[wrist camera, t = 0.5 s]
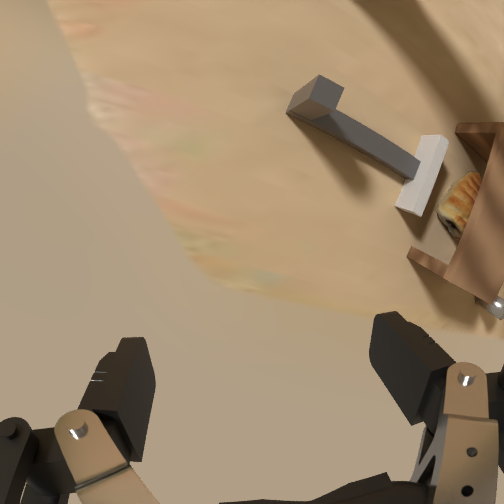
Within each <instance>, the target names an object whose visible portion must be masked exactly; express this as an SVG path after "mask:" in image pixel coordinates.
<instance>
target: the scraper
mask: <svg viewBox="0 0 504 504" xmlns="http://www.w3.org/2000/svg"><path fill="white" fill-rule="evenodd" d="M343 90H344V87H342V86H340V85H338V84H336V83H334V82H332V81H331V80H329V79H327V78H325V77H323V76H321V75H318V76H317V77H315V78H314V79H313V80H311V81H310V82H309V83H308V84H306V85H305V86H304V87H302V88H301V89H300V90H299V91H297V92H296V93H294V95H293V97H292V100H291V102H290V104H289V106H288V109H287V111H286V114H288V115H290V116H293V117H295V118H297V119H299V120H301V121H303V122H305V123H307V124H309V125H311V126H313V127H315V128H317V129H319V130H321V131H323V132H325V133H327V134H329V135H331V136H333V137H335V138H337V139H339V140H341V141H342V142H344V143H346V144H348V145H350V146H352V147H353V148H355V149H357V150H359V151H361V152H362V153H364V154H366V155H368V156H369V157H371V158H373V159H375V160H376V161H378V162H380V163H381V164H383V165H385V166H386V167H388V168H390V169H391V170H393V171H395V172H396V173H398V174H399V175H401V176H403V177H404V178H406V180H405V182H404V185H403V187H402V190H401V192H400V195H399V197H398V199H397V202H396V204H395V206H396V207H398V208H399V209H401V210H403V211H405V212H408V213H411V214H414V215H417V216H420V217H421V216H422V214H423V211H424V209H425V206H426V204H427V202H428V199H429V196H430V194H431V191H432V189H433V186H434V184H435V181H436V178H437V175H438V173H439V170H440V167H441V164H442V162H443V159H444V156H445V153H446V150H447V147H448V144H449V141H448V140H447V139H446V138H445V137H443V136H442V135H422V137H421V140H420V143H419V146H418V148H417V151H416V154H415V156H412V155H411V154H409V153H408V152H406V151H405V150H403V149H402V148H400V147H399V146H397V145H395V144H394V143H392V142H391V141H389V140H388V139H386V138H384V137H383V136H381V135H380V134H378V133H376V132H375V131H373V130H371V129H370V128H368V127H366V126H365V125H363V124H361V123H359V122H358V121H356V120H354V119H352V118H351V117H349V116H347V115H345V114H343V113H342V112H340V111H338V110H336V107H337V104H338V102H339V99H340V97H341V95H342V92H343Z"/></svg>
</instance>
